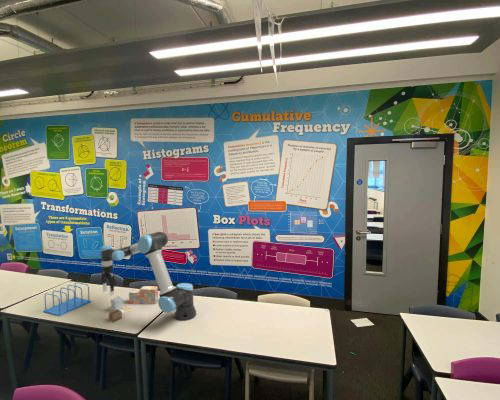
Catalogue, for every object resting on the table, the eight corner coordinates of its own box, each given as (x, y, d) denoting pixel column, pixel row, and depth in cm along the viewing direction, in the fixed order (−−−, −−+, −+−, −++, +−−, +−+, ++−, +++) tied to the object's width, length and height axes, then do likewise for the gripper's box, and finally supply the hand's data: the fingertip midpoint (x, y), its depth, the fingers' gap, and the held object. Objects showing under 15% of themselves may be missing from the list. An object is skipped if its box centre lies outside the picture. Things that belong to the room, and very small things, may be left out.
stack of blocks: (129, 303, 213) (128, 288, 212) (132, 300, 220) (132, 285, 219) (155, 304, 212) (154, 289, 211) (158, 300, 219) (158, 286, 218)
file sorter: (59, 317, 193) (58, 296, 192) (43, 313, 199) (42, 293, 198) (91, 302, 216) (90, 284, 215) (76, 299, 223) (74, 281, 221)
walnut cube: (122, 319, 189) (121, 311, 189) (113, 323, 184) (113, 315, 184) (117, 317, 193) (117, 309, 192) (109, 320, 188) (108, 312, 187)
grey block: (123, 308, 205) (122, 298, 204) (115, 311, 200) (115, 301, 199) (119, 306, 208) (118, 296, 208) (111, 309, 203) (110, 299, 203)
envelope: (134, 309, 203) (134, 309, 203) (113, 318, 190) (113, 318, 190) (122, 304, 213) (122, 303, 213) (102, 312, 200) (102, 312, 199)
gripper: (119, 266, 205) (121, 294, 207) (104, 261, 218) (105, 288, 220) (110, 269, 199) (111, 298, 201) (95, 263, 212) (96, 291, 213)
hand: (108, 293), depth 210 cm, fingers open, 10 cm apart
